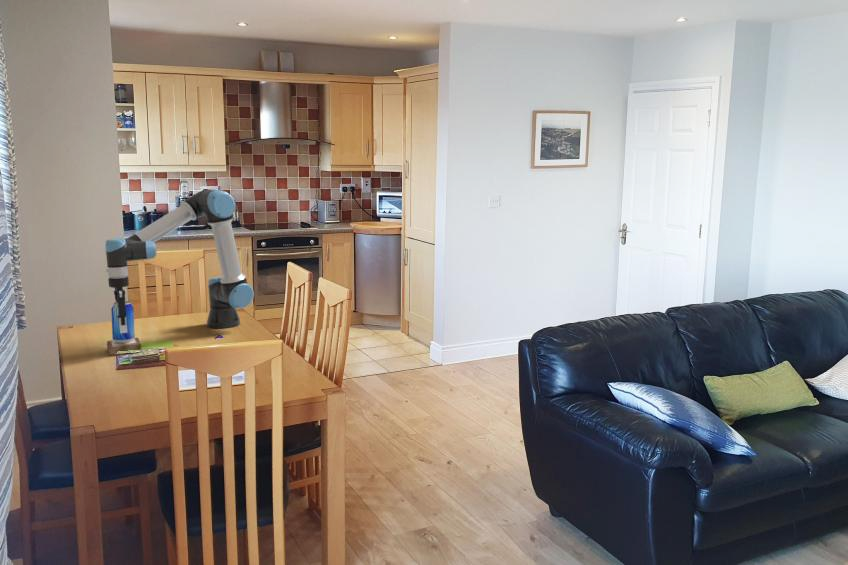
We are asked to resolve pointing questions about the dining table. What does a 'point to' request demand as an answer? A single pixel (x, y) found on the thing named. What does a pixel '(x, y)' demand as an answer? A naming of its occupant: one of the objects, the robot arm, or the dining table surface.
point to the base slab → (122, 346)
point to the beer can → (130, 333)
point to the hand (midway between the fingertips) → (122, 329)
